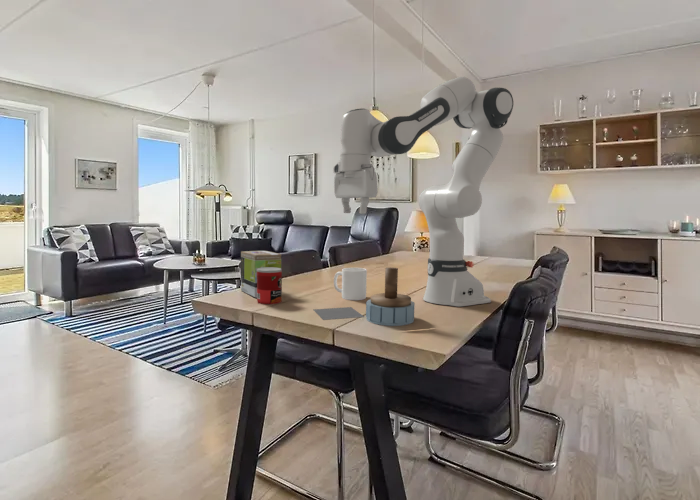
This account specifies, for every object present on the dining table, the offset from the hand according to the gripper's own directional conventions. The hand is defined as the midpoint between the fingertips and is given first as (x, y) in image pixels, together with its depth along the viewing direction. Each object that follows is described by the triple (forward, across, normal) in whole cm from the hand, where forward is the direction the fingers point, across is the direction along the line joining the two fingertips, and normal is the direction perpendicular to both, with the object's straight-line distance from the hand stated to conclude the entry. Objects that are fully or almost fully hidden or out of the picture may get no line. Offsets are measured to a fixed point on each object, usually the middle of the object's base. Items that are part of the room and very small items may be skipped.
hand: (354, 213), depth 124 cm
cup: (+29, +15, -7) cm, 34 cm away
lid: (+24, -15, -4) cm, 29 cm away
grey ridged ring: (+29, -15, -4) cm, 33 cm away
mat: (+29, -3, +6) cm, 30 cm away
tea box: (+29, +36, +18) cm, 50 cm away
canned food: (+29, +20, +20) cm, 41 cm away
